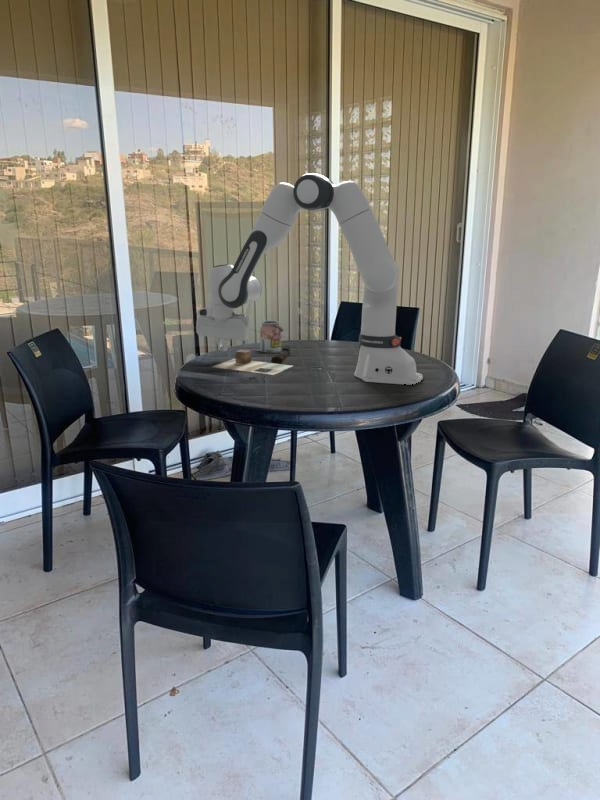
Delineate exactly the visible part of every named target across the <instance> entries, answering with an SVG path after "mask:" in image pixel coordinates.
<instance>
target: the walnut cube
mask: <svg viewBox="0 0 600 800" xmlns="http://www.w3.org/2000/svg"><path fill="white" fill-rule="evenodd" d="M234 356H235V359H236V363H242V364H247V363H249V362H251V361H252V350H248V349H239V350H235V355H234Z"/></svg>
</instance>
